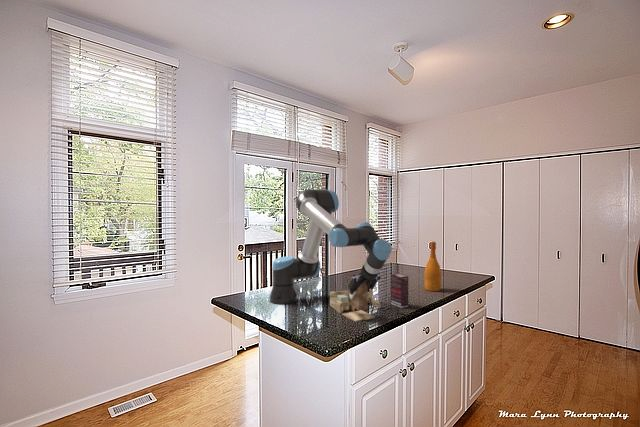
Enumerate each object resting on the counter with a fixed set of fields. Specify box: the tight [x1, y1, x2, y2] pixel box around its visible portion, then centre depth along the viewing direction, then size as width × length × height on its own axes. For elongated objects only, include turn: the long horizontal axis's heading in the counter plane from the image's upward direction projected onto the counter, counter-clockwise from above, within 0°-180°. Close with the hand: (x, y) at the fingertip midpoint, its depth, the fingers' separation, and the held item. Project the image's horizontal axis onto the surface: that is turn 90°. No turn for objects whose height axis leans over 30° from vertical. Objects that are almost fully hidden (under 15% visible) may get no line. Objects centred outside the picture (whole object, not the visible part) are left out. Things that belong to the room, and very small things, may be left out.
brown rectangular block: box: [350, 276, 368, 311], centre depth 159 cm, size 4×8×14 cm, turn 18°
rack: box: [329, 288, 381, 314], centre depth 174 cm, size 24×14×7 cm, turn 108°
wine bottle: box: [423, 241, 442, 292], centre depth 211 cm, size 10×10×30 cm
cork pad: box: [341, 310, 376, 322], centre depth 160 cm, size 11×11×1 cm
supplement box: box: [390, 273, 409, 309], centre depth 177 cm, size 9×5×16 cm, turn 29°
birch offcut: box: [343, 303, 350, 312], centre depth 172 cm, size 4×7×4 cm, turn 17°
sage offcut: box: [337, 295, 348, 303], centre depth 172 cm, size 4×5×3 cm
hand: (355, 296), depth 163 cm, fingers closed on brown rectangular block, 4 cm apart
